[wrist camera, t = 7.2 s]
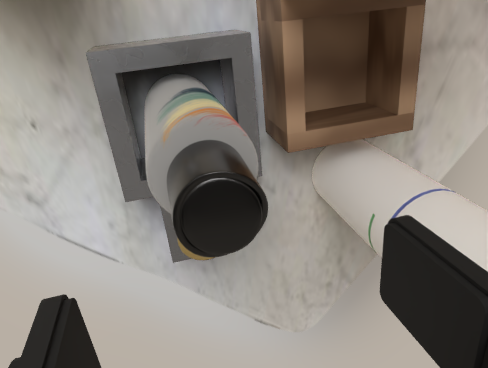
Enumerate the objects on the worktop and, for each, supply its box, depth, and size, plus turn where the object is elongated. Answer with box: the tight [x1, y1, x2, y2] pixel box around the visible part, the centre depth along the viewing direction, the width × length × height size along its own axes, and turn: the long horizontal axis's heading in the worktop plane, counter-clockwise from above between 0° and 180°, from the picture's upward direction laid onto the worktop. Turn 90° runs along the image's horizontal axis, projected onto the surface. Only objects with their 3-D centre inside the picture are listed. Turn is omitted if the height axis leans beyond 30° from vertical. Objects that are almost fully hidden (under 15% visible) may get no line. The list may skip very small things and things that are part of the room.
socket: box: [86, 30, 262, 263], centre depth 31 cm, size 18×11×5 cm, turn 5°
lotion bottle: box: [144, 73, 268, 257], centre depth 23 cm, size 6×6×20 cm
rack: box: [256, 0, 426, 153], centre depth 26 cm, size 12×11×16 cm
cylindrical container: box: [312, 139, 488, 272], centre depth 27 cm, size 7×7×25 cm
